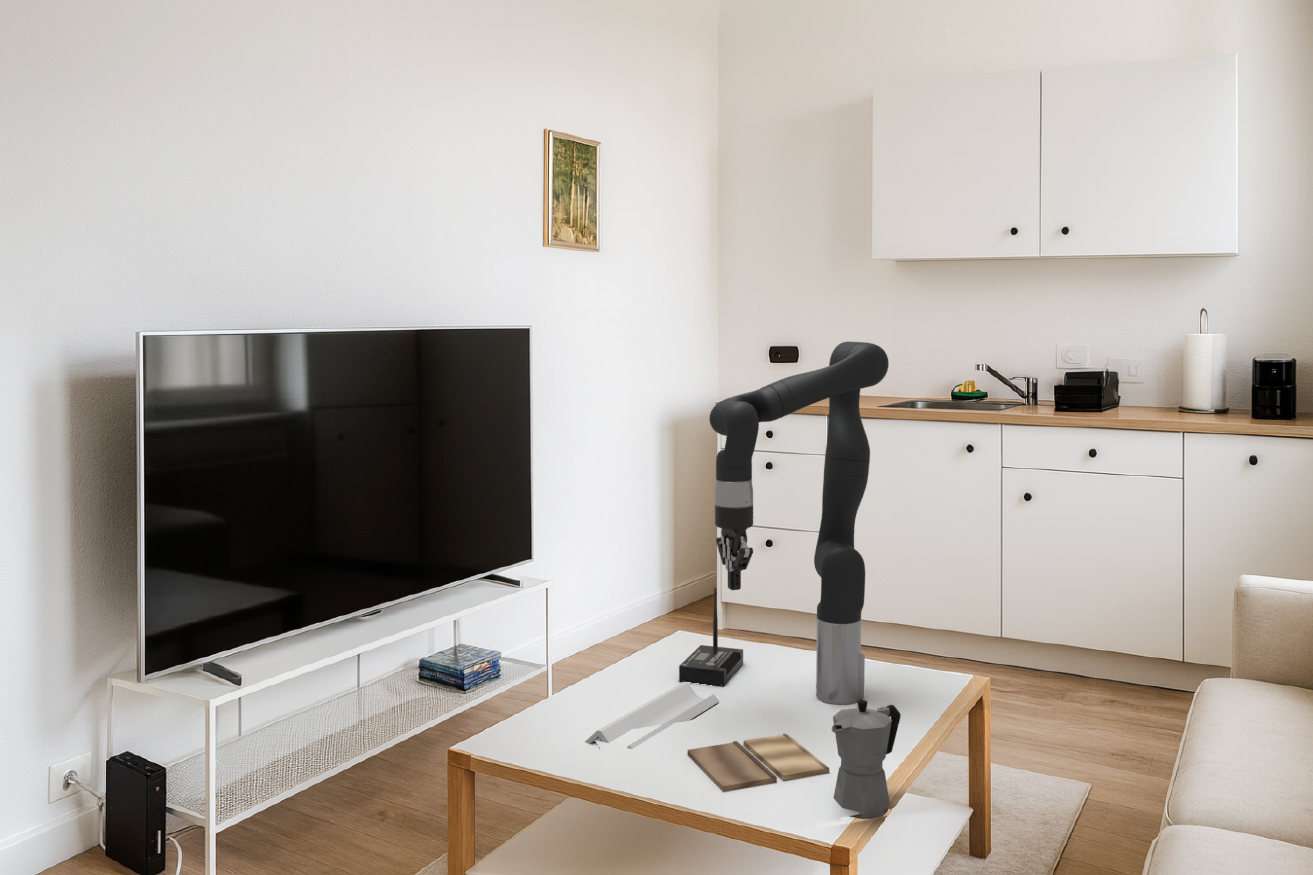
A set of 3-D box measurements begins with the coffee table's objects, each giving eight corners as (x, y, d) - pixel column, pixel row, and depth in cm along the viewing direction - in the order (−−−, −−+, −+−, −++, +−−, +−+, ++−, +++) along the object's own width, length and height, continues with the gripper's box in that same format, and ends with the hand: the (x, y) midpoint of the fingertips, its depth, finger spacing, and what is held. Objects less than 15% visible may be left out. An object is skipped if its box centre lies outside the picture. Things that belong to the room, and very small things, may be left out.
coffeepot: (854, 829, 159) (855, 718, 157) (811, 806, 167) (812, 700, 165) (919, 802, 168) (921, 696, 166) (876, 781, 175) (878, 681, 174)
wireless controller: (731, 688, 222) (731, 612, 220) (671, 681, 227) (671, 607, 225) (754, 660, 241) (755, 590, 239) (698, 654, 246) (698, 585, 244)
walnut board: (737, 751, 188) (737, 740, 188) (776, 788, 173) (776, 775, 173) (687, 760, 185) (687, 748, 185) (723, 797, 170) (723, 785, 170)
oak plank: (743, 750, 189) (743, 739, 188) (786, 744, 192) (786, 733, 192) (782, 786, 174) (783, 774, 174) (829, 778, 177) (829, 766, 177)
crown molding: (634, 759, 187) (634, 740, 187) (583, 745, 194) (582, 726, 194) (718, 705, 213) (718, 688, 213) (670, 694, 220) (670, 678, 220)
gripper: (766, 506, 194) (766, 595, 196) (737, 496, 206) (737, 579, 208) (730, 509, 191) (730, 599, 193) (703, 498, 204) (703, 583, 205)
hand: (734, 588), depth 200 cm, fingers closed
